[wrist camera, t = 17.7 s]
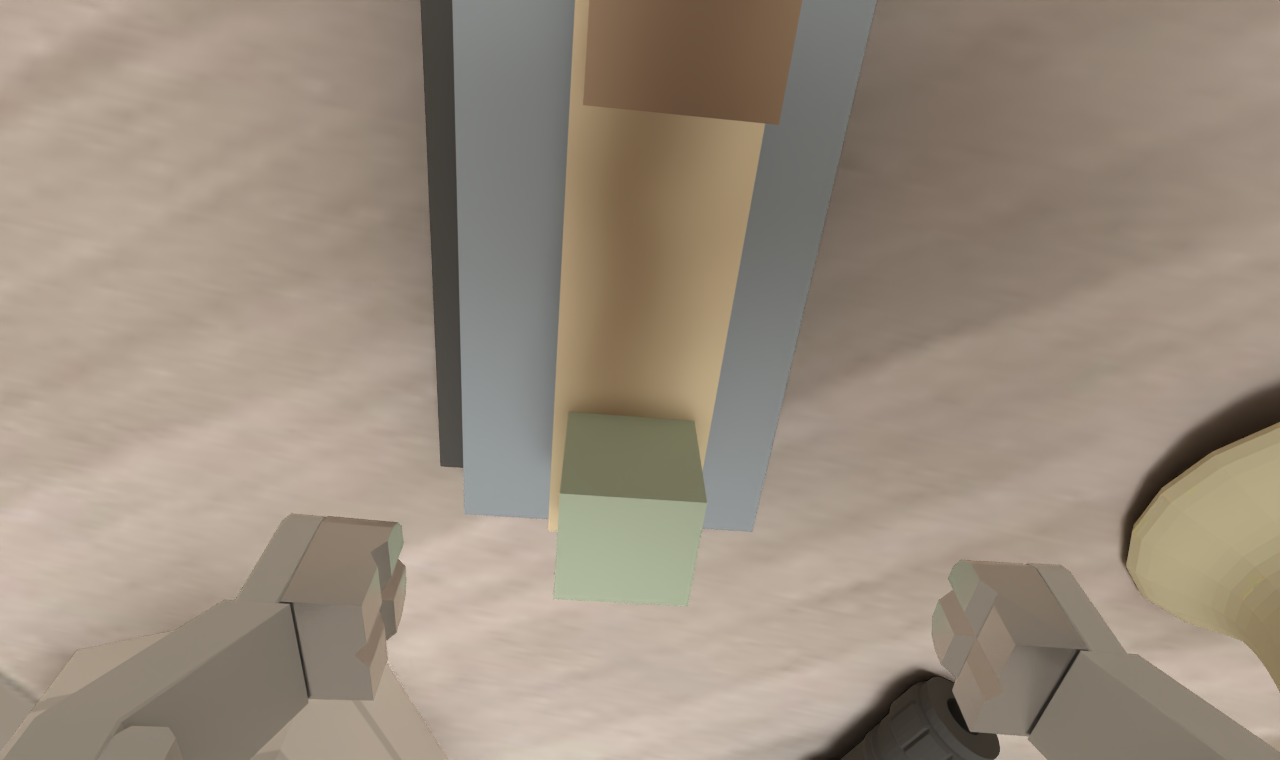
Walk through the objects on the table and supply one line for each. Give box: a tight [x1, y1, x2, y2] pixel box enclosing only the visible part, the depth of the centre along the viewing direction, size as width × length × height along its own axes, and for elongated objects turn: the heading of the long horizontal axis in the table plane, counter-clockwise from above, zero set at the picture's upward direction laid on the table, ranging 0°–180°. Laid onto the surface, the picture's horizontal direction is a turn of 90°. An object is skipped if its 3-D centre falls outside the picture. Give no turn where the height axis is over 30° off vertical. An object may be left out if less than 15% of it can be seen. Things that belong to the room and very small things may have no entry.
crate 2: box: [554, 412, 707, 606], centre depth 23 cm, size 4×4×4 cm
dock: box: [421, 0, 877, 532], centre depth 26 cm, size 13×26×3 cm, turn 174°
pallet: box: [548, 0, 765, 531], centre depth 23 cm, size 5×20×4 cm, turn 174°
